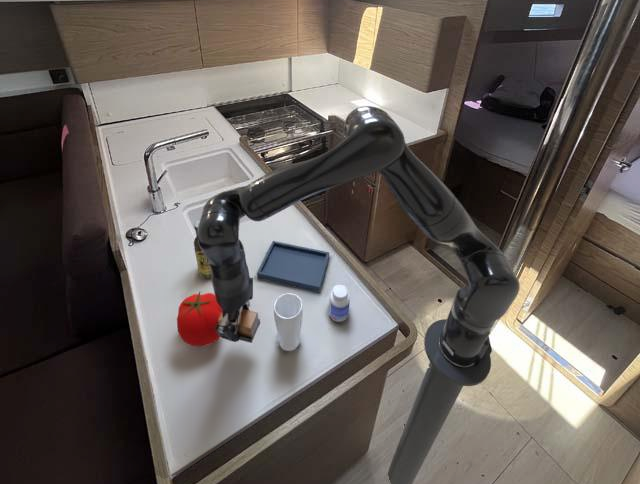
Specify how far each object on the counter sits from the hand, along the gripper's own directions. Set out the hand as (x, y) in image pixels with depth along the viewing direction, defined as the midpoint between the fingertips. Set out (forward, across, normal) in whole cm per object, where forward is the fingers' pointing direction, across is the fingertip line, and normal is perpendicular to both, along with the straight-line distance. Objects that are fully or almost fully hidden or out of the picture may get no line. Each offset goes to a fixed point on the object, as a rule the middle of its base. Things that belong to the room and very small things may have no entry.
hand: (240, 327), depth 76 cm
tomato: (+9, +1, +11) cm, 14 cm away
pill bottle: (+9, +15, -21) cm, 28 cm away
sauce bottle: (+9, +19, +20) cm, 29 cm away
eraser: (0, 0, 0) cm, 0 cm away
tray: (+9, +27, -5) cm, 29 cm away
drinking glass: (+9, +4, -10) cm, 15 cm away
